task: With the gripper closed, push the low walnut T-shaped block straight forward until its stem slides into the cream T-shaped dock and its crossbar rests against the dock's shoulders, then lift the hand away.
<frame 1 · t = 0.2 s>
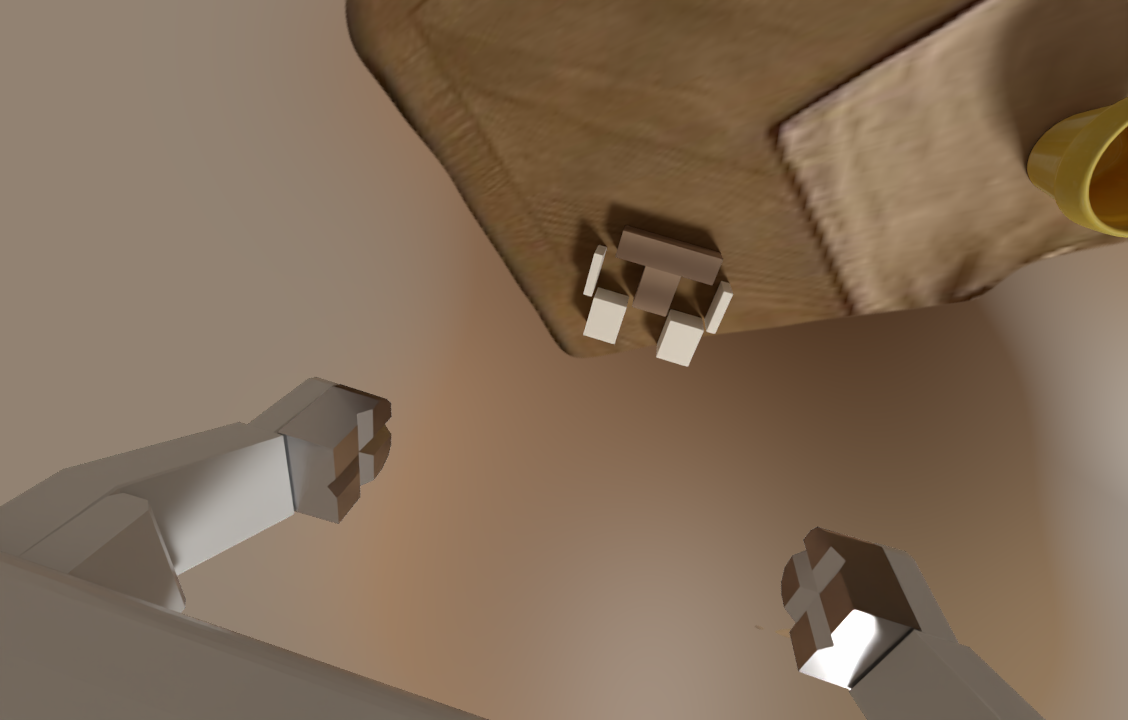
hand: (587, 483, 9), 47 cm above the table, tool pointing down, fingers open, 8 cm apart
plant pot: (1071, 153, 42), on the table
cream T dock: (649, 302, 56), on the table
walnut T block: (663, 263, 54), on the table
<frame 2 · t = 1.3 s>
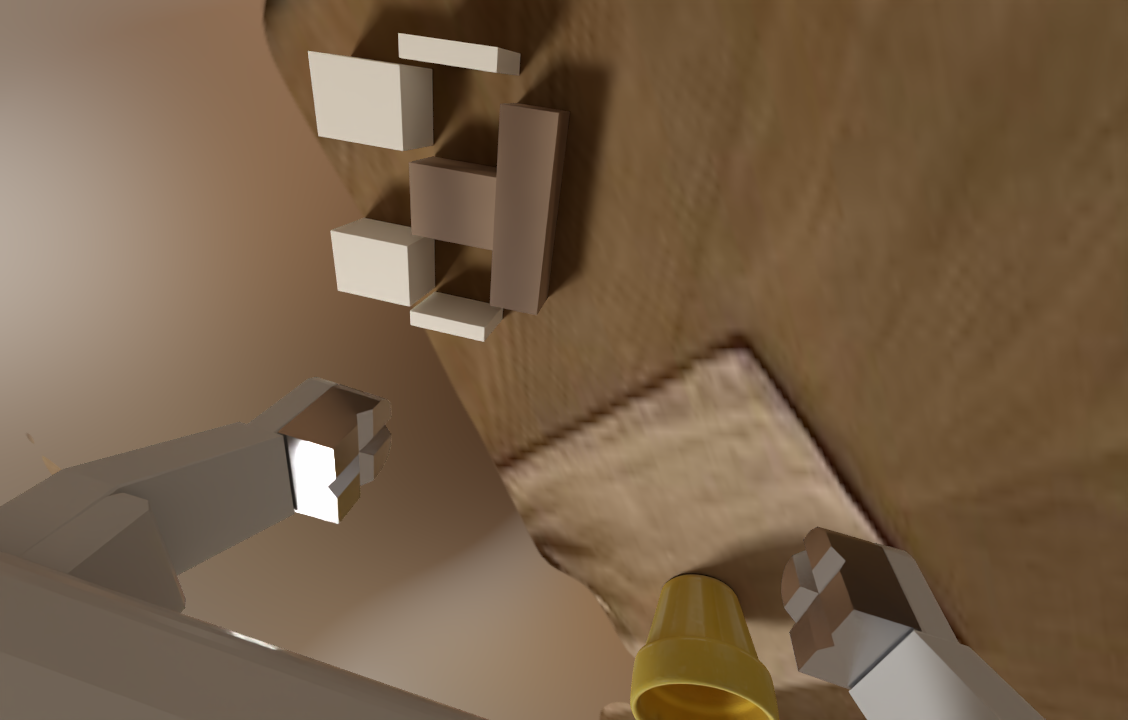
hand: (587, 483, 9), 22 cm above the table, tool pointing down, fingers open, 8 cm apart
plant pot: (698, 596, 42), on the table
cream T dock: (433, 190, 29), on the table
walnut T block: (510, 204, 29), on the table
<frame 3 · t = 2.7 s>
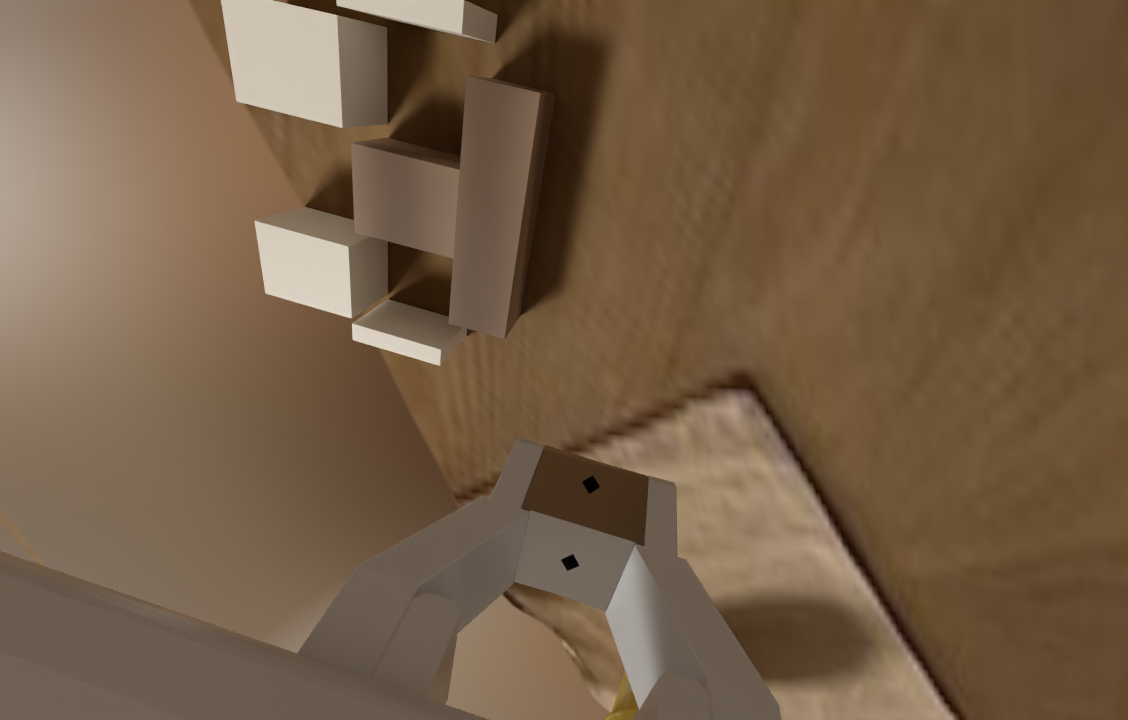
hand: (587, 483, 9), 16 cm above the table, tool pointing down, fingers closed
plant pot: (675, 649, 38), on the table
cream T dock: (387, 179, 24), on the table
walnut T block: (479, 203, 24), on the table
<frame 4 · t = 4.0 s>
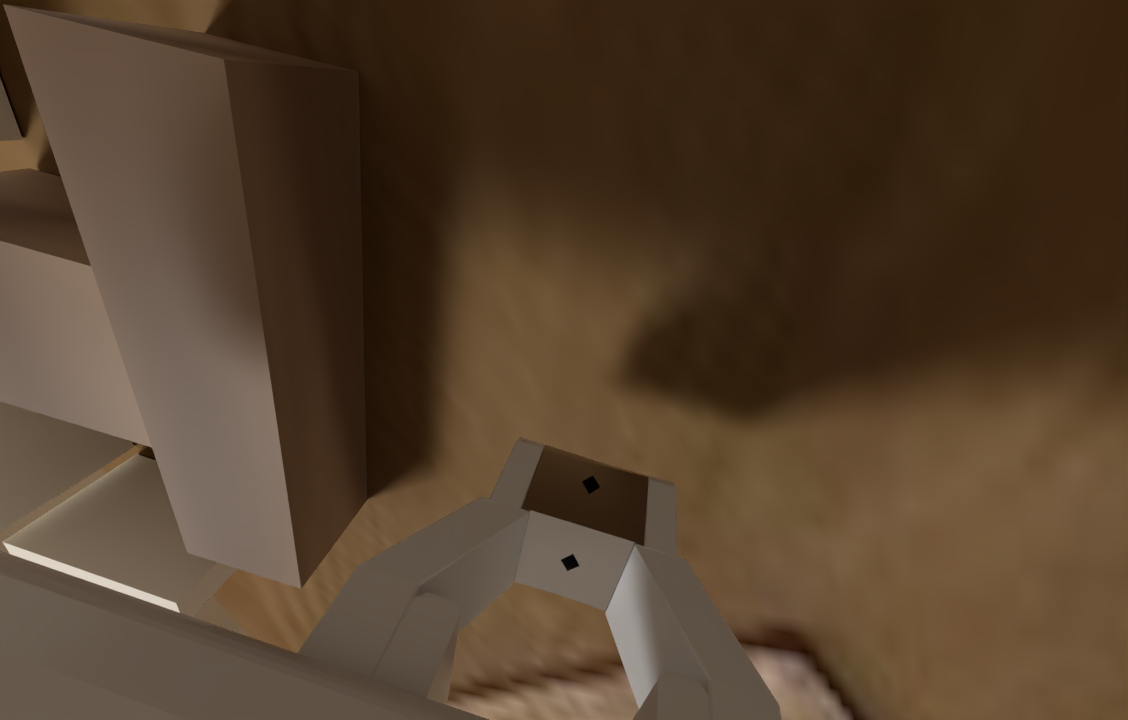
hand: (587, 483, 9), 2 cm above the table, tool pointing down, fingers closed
cream T dock: (63, 252, 12), on the table
walnut T block: (248, 305, 11), on the table
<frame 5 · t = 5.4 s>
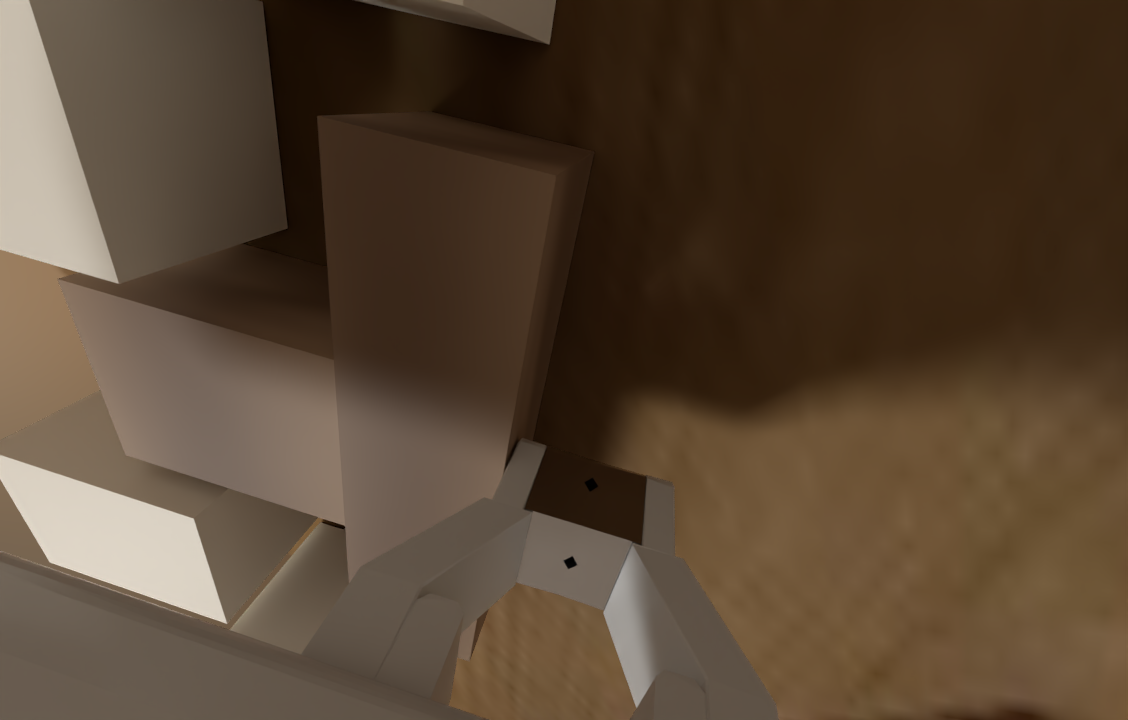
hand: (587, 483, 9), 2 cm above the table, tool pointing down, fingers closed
cream T dock: (299, 334, 11), on the table
walnut T block: (418, 370, 11), on the table, touching gripper
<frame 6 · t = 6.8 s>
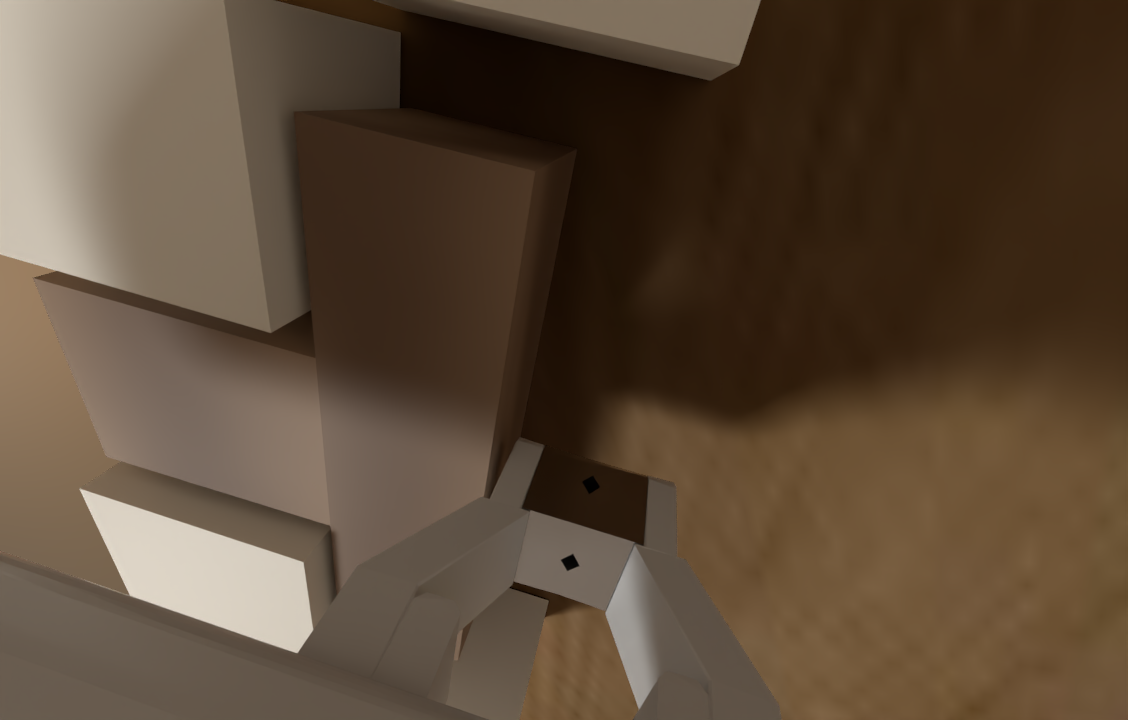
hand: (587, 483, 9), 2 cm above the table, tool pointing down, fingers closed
cream T dock: (395, 366, 11), on the table
walnut T block: (404, 369, 11), on the table
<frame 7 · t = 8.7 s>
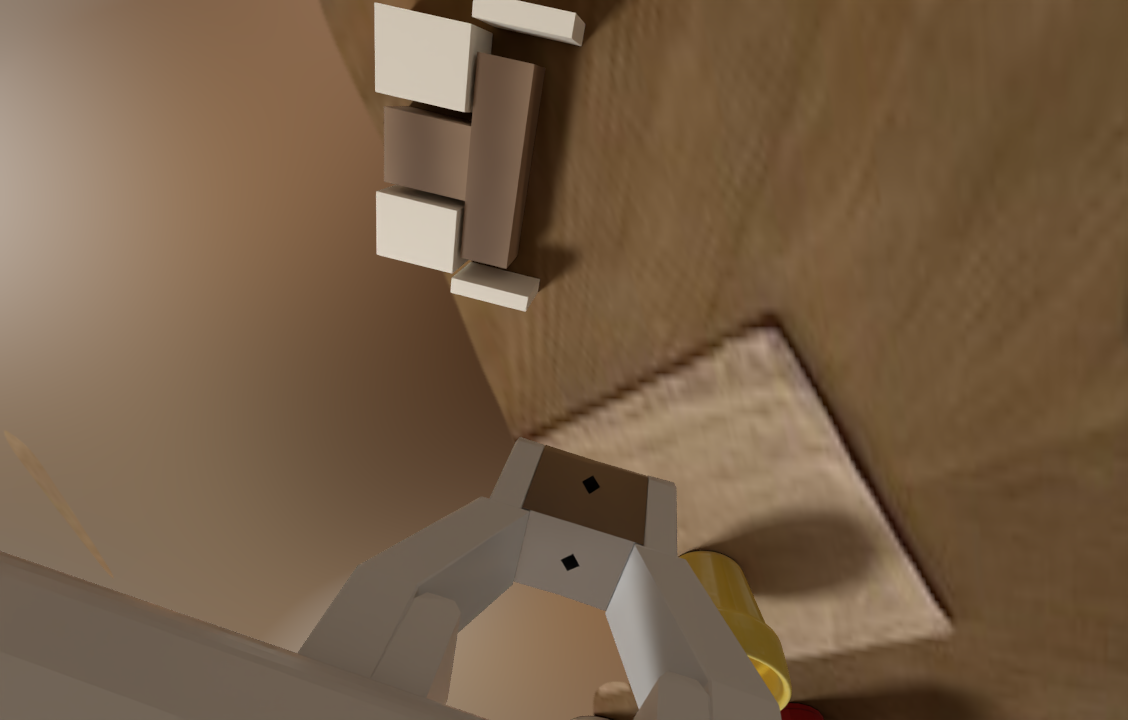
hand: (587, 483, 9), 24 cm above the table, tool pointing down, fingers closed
plant pot: (705, 573, 43), on the table
plastic cup: (791, 714, 51), on the table
cream T dock: (480, 158, 29), on the table
walnut T block: (484, 159, 29), on the table
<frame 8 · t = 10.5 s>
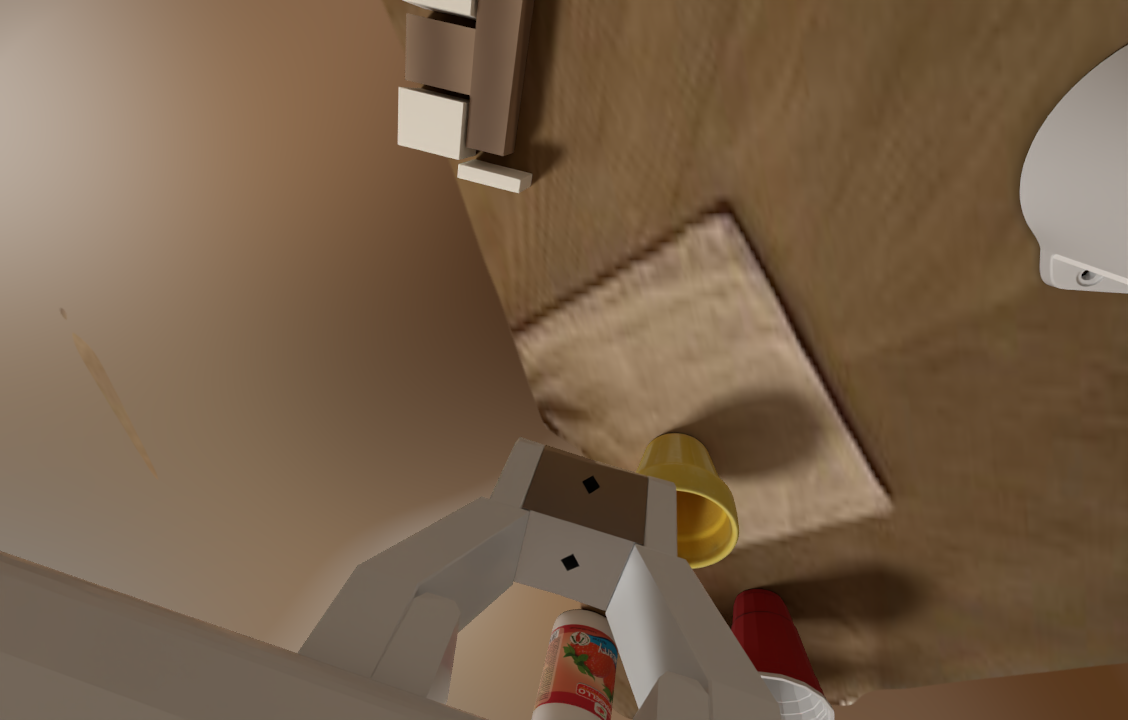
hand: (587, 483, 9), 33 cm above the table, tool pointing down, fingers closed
fruit juice: (586, 627, 67), on the table
plant pot: (676, 457, 49), on the table
plastic cup: (756, 601, 57), on the table
cream T dock: (484, 64, 35), on the table
walnut T block: (486, 65, 35), on the table
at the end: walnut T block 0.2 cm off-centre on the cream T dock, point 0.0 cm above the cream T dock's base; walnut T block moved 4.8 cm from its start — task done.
